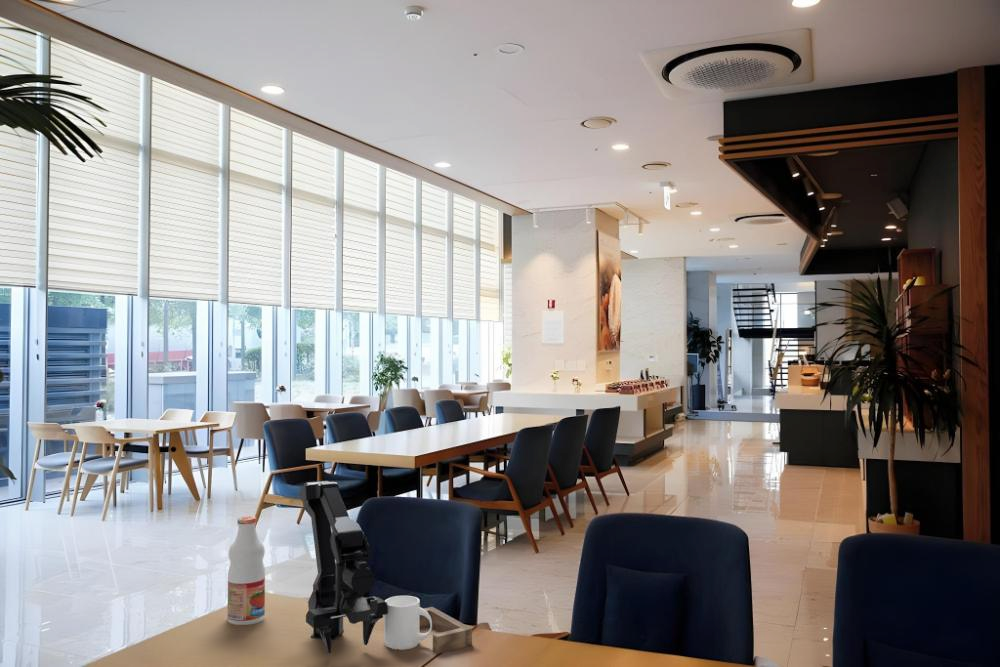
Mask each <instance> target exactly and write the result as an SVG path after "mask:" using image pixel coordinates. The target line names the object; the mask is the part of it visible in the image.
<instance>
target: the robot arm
mask: <svg viewBox="0 0 1000 667" xmlns="http://www.w3.org/2000/svg"><path fill="white" fill-rule="evenodd" d="M299 498H300V501H302V505H303V509H304V511H305V512H306V513H307V514H308V515H309V517H310V518H311V527H312V534H313V543H314V551H315V552H314V553H315V560H316V566H317V567H316V569H317V575H316V577H315V579H314V582H313V584H312V593H311V594H310V596H309V598H308V602H307V604H308V605H307V606H308V611H307V612H306V614H305V622H306V623H307V625H309V626H310V627H312V629H313V631H312V634H311V635H310V638H311V639H319V638H320V639H321V640H322V642H323V644H324V646H325V649H326V652H327V654H331V652H332V642H331V641H332V640H334V641H335V640H336V639H337V638H338V637H339V636H340V635H342V633H344V631H345V630H344V618H347V620H348V622H349V623H350V624H353V625H355V624H358V623H362V639H363V640H362V641H363V645H365V646H368V643H369V641H370V638H371V635H372V632H373V630H374V627H375V625H376V623H377V622H378V621H379V620H381V619H383V617H384V616H385V614H388V604H387V603H386V602H385V600H384V599H382V598H381V597H378V596H369V597H364V594H366V593H369V592H371V590H372V589H373V587H374V585H375V583H376V576H375V574H374V572H373V570H372V569H371V568H369V567H368V562H366V561H368V560H371V555H370V554H371V553H372V551H371V547H370V545H369V541H368V539H367V536H366V534H365V532H364V531H363V530H362V528H361V526H360V524H359V523H358V522H356V521H354V520H353V519H351V517H350V516H349V513H348V510H347V508H346V505H345V503H344V501H343V499H342V497H341V494H340V491H339V484H338V482H336V481H329V480H321V481H309V482H308V481H307V482H304V484H303V486H301V487H300V488H299Z"/></svg>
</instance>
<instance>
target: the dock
mask: <svg viewBox="0 0 1000 667" xmlns="http://www.w3.org/2000/svg"><path fill="white" fill-rule="evenodd" d="M423 609H424V610H426V611H427V612H428V614H429V615H430V617H431V620H432V629H434V630H436V631H438V633H434V634H432V652H433V653H435V654H442V653H446V652H449V651H455V650H458V649H462V648H465V647H470V646H473V628H472V627H470V626H468V625H466V624H464V623H462V622H461V621H459V620H457V619H455V618H454V617H452V616H450V615H448V614H446V613H445V612H442V611H441V610H440V609H437V608H436V607H433V606H430V607H426V608H425V607H424V608H423ZM419 619H420V620H419V628H421V627H427V626H430V622H429V620H428V619H427V618H426V617H425V616H422V615H419Z"/></svg>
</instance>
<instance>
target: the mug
mask: <svg viewBox="0 0 1000 667" xmlns="http://www.w3.org/2000/svg"><path fill="white" fill-rule="evenodd" d="M384 601H385V602H386V603H387V604H388V614H385V615H384V622H383V623H384V629H383V630H384V634H383V635H384V639H383V640H384V645H385V647H387V648H388V647H389V648H388V649H391V648H392V650H397V649H399V651H401V650H402V651H404V650H410V649H415V647H417V646H418V645H419V643H420V641H424V640H426V639H427V638H428V637H429V636H430V635H431V633H432V629H433V627H432V620H431V617H430V615H429V614H428V612H427V611H426V610H424V608H423V607H421V604H420V599H419V598H418V597H416V596H412V595H395V596H390V597H389V598H387V599H385V600H384ZM419 615H422V616H425V617H426V618H427V619H428V620H429V622H430V625H429V627H430V628H429V630H428V631H427V632H425V633H423V632H420V627H419V620H420V619H419Z"/></svg>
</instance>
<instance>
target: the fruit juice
mask: <svg viewBox="0 0 1000 667" xmlns="http://www.w3.org/2000/svg"><path fill="white" fill-rule="evenodd" d="M257 522H258V519H257V517H256V516H242V517H238V518H237V522H236V523H237V526H238V530H237V534H236V537H235V540H234V541H233V542H232V544H231V545H230V546H229V549H228V558H229V561H230V565H229V568H228V570H227V571H228V572H227V620H226V621H227V622H228V623H229V624H231V625H236V626H239V625H240V626H241V625H242V626H243V625H244V626H246V625H253V624H257V623H261V622H263V621H264V619H266V618H265V614H266V613H265V612H266V611H265V608H266V607H265V606H266V605H265V604H266V602H265V601H266V600H265V599H266V594H265V593H266V568H265V565H264V561H263V560H264V557H265V550H266V549H265V545H264V544H263V542H262V541H261V540H260V539H259V535H258V533H257V529H256V525H257Z"/></svg>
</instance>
